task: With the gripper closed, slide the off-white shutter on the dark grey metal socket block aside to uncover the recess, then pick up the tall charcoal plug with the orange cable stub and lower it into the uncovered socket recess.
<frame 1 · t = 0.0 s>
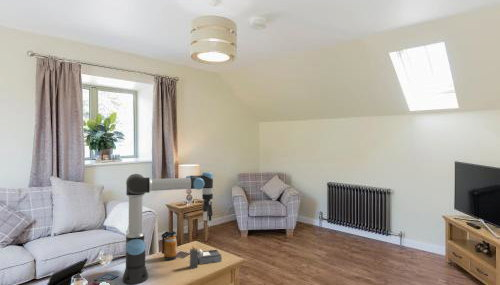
hand: (207, 222, 225), 28 cm above the table, fingers open, 13 cm apart
shutter: (204, 252, 226), point 6 cm above the table, slide at 0.0 cm
socket: (207, 259, 227), on the table
canister: (168, 258, 229), on the table
plug: (193, 267, 214), on the table
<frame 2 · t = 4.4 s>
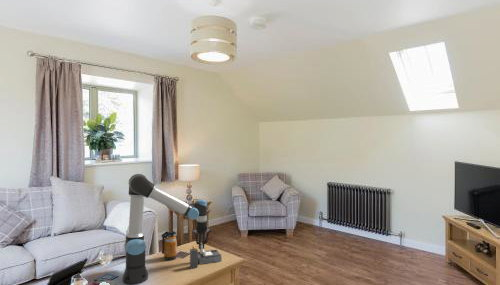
hand: (201, 253, 225), 6 cm above the table, fingers closed
shutter: (207, 252, 226), point 6 cm above the table, slide at 1.7 cm, touching gripper
everything else where it was.
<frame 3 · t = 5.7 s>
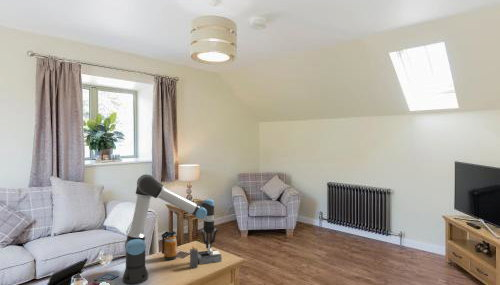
hand: (208, 252, 227), 5 cm above the table, fingers closed
shutter: (214, 251, 228), point 6 cm above the table, slide at 7.1 cm, touching gripper
everything else where it was.
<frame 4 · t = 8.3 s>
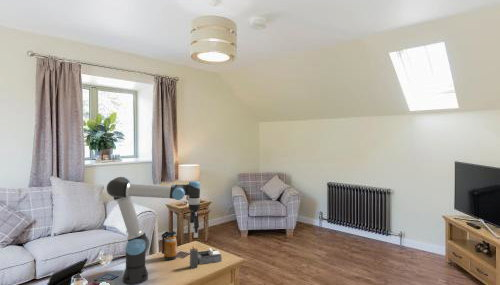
hand: (193, 234, 214), 22 cm above the table, fingers open, 12 cm apart
shutter: (214, 251, 228), point 6 cm above the table, slide at 7.2 cm
everything else where it was.
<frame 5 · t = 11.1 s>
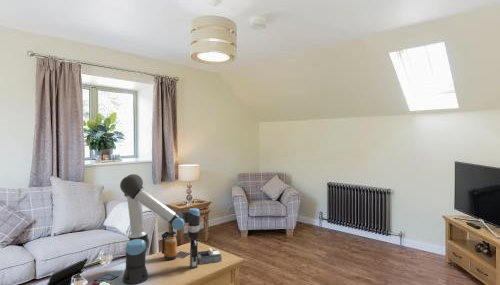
hand: (193, 264, 214), 2 cm above the table, fingers closed on plug, 4 cm apart
plug: (193, 266, 214), on the table, touching gripper
everything else where it was.
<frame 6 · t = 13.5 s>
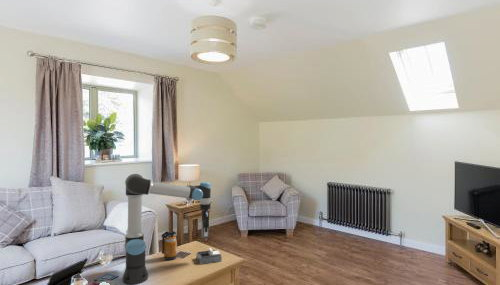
hand: (205, 235, 226), 18 cm above the table, fingers closed on plug, 4 cm apart
plug: (205, 237, 226), point 17 cm above the table, touching gripper
everything else where it was.
when the fingers open (5 cm above the table, at t = 16.1 s): plug drops 3 cm, resting in socket.
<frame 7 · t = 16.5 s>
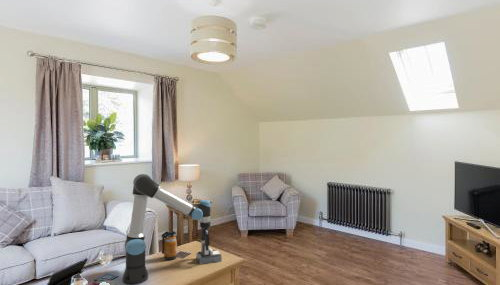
hand: (204, 251, 226), 6 cm above the table, fingers open, 10 cm apart
plug: (204, 260, 226), resting in socket
everything else where it was.
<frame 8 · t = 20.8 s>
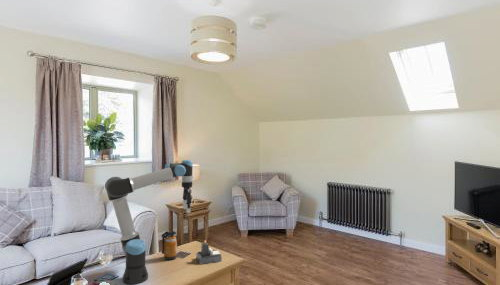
hand: (186, 210, 224), 37 cm above the table, fingers open, 13 cm apart
nothing on the table moved.
at the end: plug 0.0 cm from the target spot on the socket, point 0.0 cm above the socket's base; plug tilted 0°; shutter slide at 7.2 cm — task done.
